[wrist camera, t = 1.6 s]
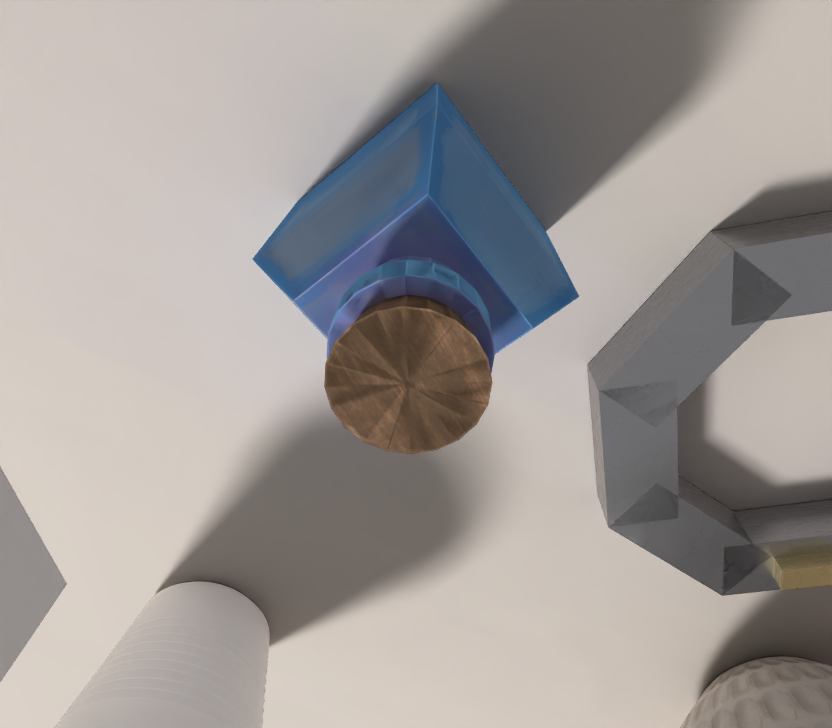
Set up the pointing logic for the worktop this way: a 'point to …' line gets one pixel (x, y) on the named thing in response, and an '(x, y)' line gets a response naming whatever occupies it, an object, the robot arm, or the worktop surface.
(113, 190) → the worktop surface
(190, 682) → the cup
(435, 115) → the perfume bottle
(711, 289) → the ring
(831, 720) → the vase
